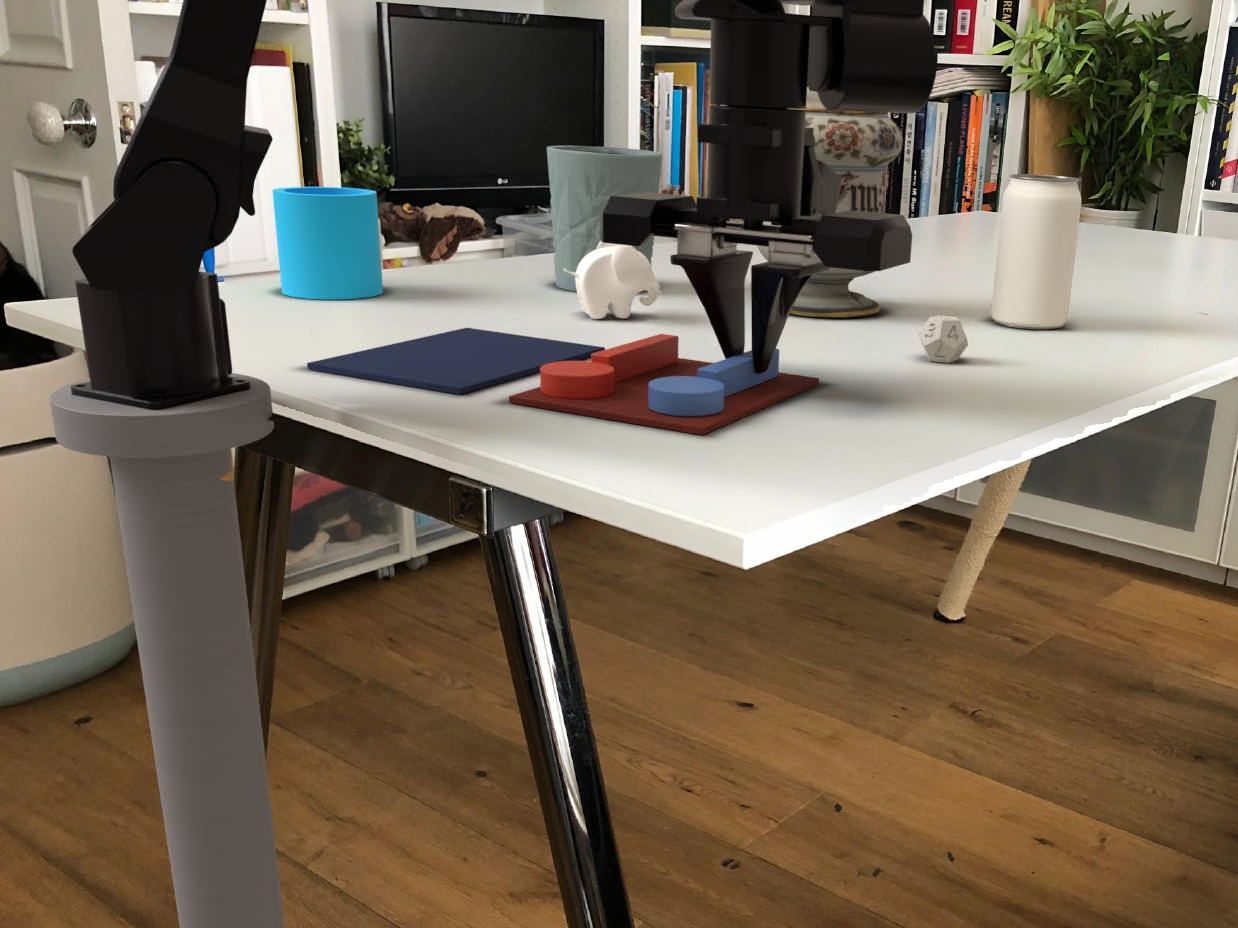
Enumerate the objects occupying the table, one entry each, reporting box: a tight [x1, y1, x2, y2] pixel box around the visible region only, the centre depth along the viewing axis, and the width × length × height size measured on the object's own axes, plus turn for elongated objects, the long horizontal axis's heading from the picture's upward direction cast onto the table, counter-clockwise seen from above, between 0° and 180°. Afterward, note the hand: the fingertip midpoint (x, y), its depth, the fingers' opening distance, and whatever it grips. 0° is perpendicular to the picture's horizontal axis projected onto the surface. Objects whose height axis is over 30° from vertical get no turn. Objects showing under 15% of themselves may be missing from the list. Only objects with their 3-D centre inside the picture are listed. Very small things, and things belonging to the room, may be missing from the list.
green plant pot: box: [546, 145, 663, 292], centre depth 118 cm, size 10×10×12 cm
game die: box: [918, 315, 969, 364], centre depth 95 cm, size 4×4×3 cm
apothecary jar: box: [756, 86, 904, 319], centre depth 111 cm, size 12×12×18 cm
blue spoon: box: [648, 348, 780, 417], centre depth 80 cm, size 13×4×2 cm, turn 155°
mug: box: [271, 186, 384, 300], centre depth 111 cm, size 12×8×8 cm
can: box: [990, 173, 1082, 330], centre depth 110 cm, size 6×6×12 cm
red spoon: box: [539, 333, 679, 399], centre depth 82 cm, size 13×4×2 cm, turn 155°
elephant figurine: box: [564, 241, 664, 320], centre depth 105 cm, size 7×8×6 cm
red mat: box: [508, 357, 820, 436], centre depth 81 cm, size 16×13×1 cm
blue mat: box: [306, 327, 606, 395], centre depth 87 cm, size 16×12×1 cm
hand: (748, 370), depth 83 cm, fingers closed on blue spoon, 1 cm apart
